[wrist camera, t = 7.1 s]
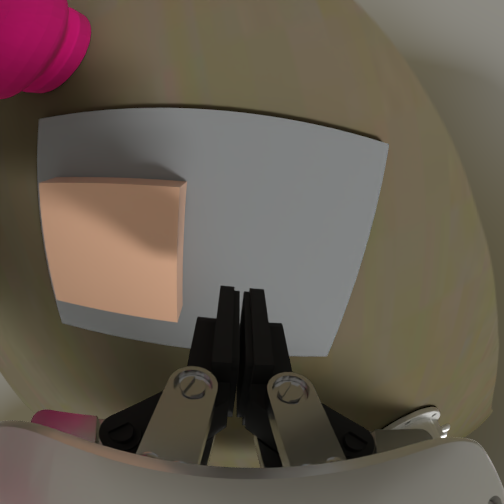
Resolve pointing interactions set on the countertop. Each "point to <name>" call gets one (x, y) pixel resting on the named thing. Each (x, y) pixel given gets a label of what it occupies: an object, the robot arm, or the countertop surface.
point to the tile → (116, 243)
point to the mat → (235, 210)
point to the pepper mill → (39, 45)
